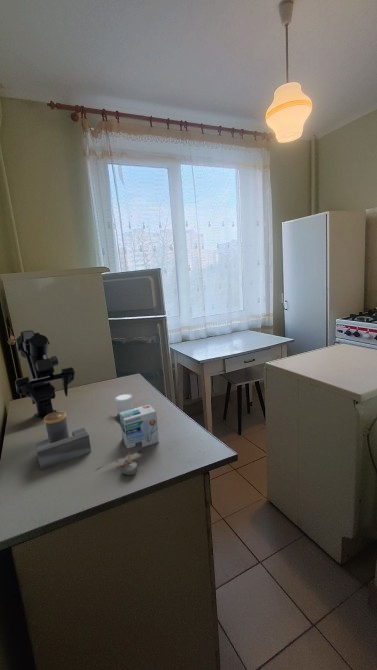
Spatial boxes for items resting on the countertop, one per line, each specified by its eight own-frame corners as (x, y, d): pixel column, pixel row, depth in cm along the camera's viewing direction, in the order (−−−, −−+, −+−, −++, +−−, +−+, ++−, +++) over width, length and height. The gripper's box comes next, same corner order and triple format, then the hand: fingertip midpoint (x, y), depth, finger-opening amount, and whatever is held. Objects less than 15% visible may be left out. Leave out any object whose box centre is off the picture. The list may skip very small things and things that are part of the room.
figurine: (138, 476, 79) (134, 454, 79) (121, 480, 78) (118, 458, 78) (137, 467, 84) (134, 446, 84) (122, 470, 83) (118, 450, 83)
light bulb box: (127, 453, 90) (123, 420, 88) (122, 443, 96) (118, 412, 94) (160, 442, 95) (156, 410, 93) (152, 433, 101) (149, 403, 99)
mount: (31, 449, 96) (27, 429, 95) (81, 432, 105) (78, 414, 104) (38, 478, 82) (34, 455, 80) (96, 455, 90) (93, 434, 89)
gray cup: (47, 443, 96) (42, 415, 94) (68, 437, 100) (63, 409, 98) (51, 452, 91) (45, 422, 89) (72, 445, 94) (67, 416, 93)
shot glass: (130, 417, 114) (128, 400, 112) (113, 417, 115) (111, 400, 114) (136, 409, 120) (134, 393, 119) (121, 409, 122) (119, 393, 120)
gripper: (10, 356, 97) (20, 395, 90) (68, 345, 108) (82, 379, 100) (12, 375, 105) (22, 413, 97) (67, 363, 115) (79, 396, 107)
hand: (52, 399), depth 100 cm, fingers open, 9 cm apart
